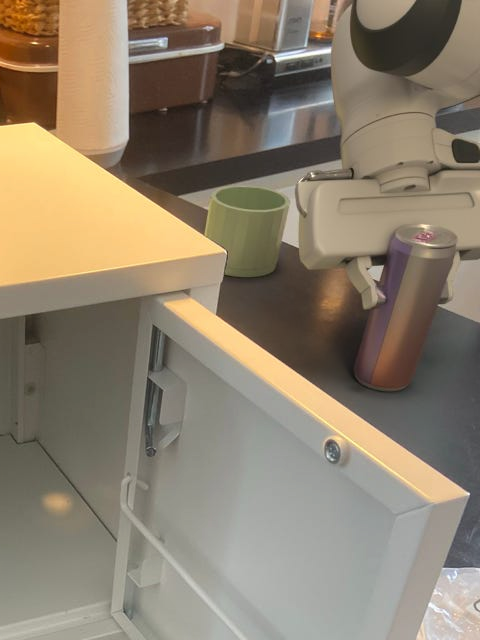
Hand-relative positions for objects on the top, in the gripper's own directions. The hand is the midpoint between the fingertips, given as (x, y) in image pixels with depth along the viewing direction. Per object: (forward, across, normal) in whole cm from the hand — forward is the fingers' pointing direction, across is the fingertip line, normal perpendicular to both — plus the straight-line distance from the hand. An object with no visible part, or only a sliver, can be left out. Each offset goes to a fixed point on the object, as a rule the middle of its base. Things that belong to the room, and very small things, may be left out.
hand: (409, 304), depth 93 cm
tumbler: (-18, -3, +29) cm, 34 cm away
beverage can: (+6, 0, +6) cm, 9 cm away
